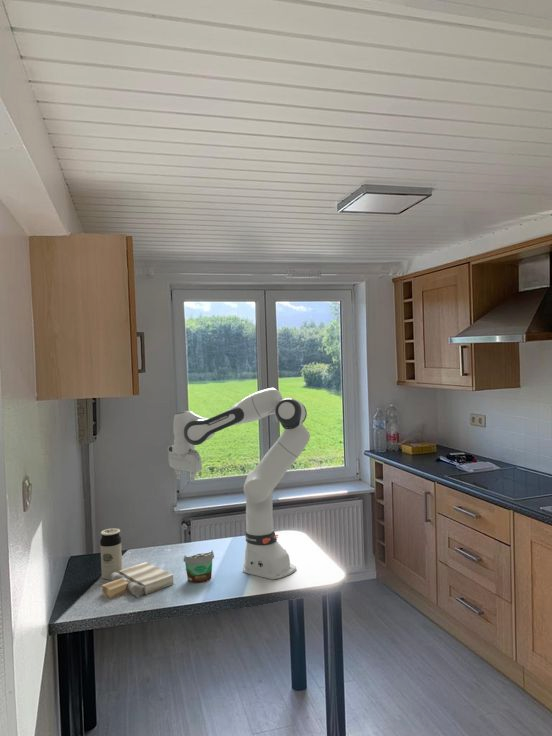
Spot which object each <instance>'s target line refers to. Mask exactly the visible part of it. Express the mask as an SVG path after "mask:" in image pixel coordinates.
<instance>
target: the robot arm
mask: <svg viewBox="0 0 552 736" xmlns="http://www.w3.org/2000/svg"><path fill="white" fill-rule="evenodd" d="M271 415H275V416H276V419H277V420H278V421H279V423H280V425H281V427H282V428H283V429H284V430H283V432H282V434H280V436H279V437H278V438H277V440H276V441H275V442H274V443H273V445H272V446H271V447H270V448H269V449H268V451H267V452H266V453H265V454H264V456H263V458H261V460H260V461H259V463H258V464H257V465H256V467H255V468H254V469H252V470H251V471H250V472H249V473H248V474H247V476H246V478H245V481H244V483H243V493H244V496H245V497H246V498H245V499H246V504H245V524H246V525H245V526H246V530H245V542H246V546H245V551H244V552H245V553H244V563H243V569H242V572H243V573H245V574H249V575H253V576H257V577H262V578H265V579H268V580H269V579H270V580H276V579H283V578H284V577H287V576H289V575H292V574H293V573H294V572H295V571H296V570H297V566H296V565H294V564H292V563H291V561H290V556H289V555H290V554H289V553H288V552H287V550H286V549H285V548H284V547H283V546H282V545H281V544H280V542H279V541H278V540H277V538H279V537H278V536H279V535H278V534H276V532H275V530H274V520H273V519H274V517H273V516H274V515H273V512H274V511H273V509H274V508H273V491H274V490H275V488H276V487H277V486H278V484H279V483H280V481H281V480H282V478H283V477H284V476H285V474H286V473H287V471H288V470H289V469H290V468H291V467H292V465H293V464H294V463H295V461H296V460H297V459H298V458H299V456H301V454H302V453H303V451H304V449H305V448H306V446H307V445H308V443H309V441H310V438H311V434H310V431H309V430H308V429H307V428H306V427H305V426H304V425H303V423H304V422H305V420H306V419H307V416H308V413H307V409H306V407H305V405H304V404H303V403H302V402H301V401H299V400H297V399H295V398H291V397H287V398H284V397H283V396H282V394H281V391H279V390H278V389H276V388H274V387H270V388H266V389H265V388H264V389H262V390H259V391H256V392H253V393H251V394H249V395H247V396H246V397H244V398H242V399H240V400H239V401H237V402H236V403H235V404H233V405H232V406H231V407H229V408H228V409H227V410H225V411H224V412H222V413H219V414H217V415H215V416H212V417H210V418H209V417H204V416H200V415H198V414H196V413H194V412H193V411H192V410H183V411H180V412H177V413H176V414H175V415H174V417H173V423H172V424H173V429H172V431H173V435H174V438H173V439H174V440H173V444H172V445H169V446H168V447H167V451H168V452H167V453H168V456H167V457H168V465H169V467H170V468H172V469H174V472H175V475H176V479H178V480H181V479H183V474H182V473H181V470H182V471H186V472H189V473H190V477H189V479H188V480H189V482H190V483H194V482H195V481H196V480H195V478H196V476H197V473H200V472H202V470H203V466H202V465H203V464H202V458H201V455H200V453H199V451H198V450H196V446H198V445H201V444H204V442H206V441H207V440H210V439H212V438H213V436H215V434H216V433H217V432H219V431H222V430H224V429H226V428H229V427H232V426H235V425H236V426H237V425H241V424H247V423H248V424H249V423H252V422H255V421H258V420H261V419H264V418H266V417H267V416H271Z"/></svg>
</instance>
